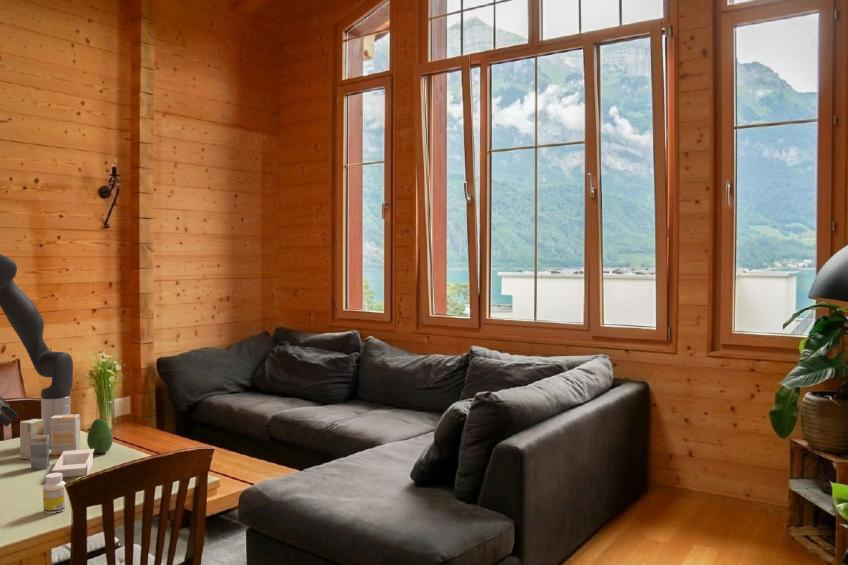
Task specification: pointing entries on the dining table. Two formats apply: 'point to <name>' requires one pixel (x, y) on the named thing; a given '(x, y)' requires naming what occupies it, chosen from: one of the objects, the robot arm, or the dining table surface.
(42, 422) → the skincare box
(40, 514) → the dining table surface
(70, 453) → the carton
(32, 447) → the capped block
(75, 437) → the supplement box
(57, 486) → the supplement bottle
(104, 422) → the avocado
